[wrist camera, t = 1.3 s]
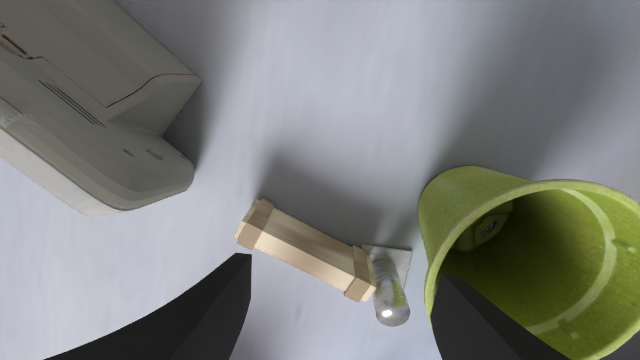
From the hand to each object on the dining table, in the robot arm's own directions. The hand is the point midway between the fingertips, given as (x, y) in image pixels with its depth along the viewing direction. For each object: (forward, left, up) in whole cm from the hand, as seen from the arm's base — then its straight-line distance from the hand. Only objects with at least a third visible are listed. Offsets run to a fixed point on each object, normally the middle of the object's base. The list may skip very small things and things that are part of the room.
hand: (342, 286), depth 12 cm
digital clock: (+15, -6, -10) cm, 19 cm away
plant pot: (-8, 0, -10) cm, 13 cm away
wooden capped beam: (+2, +3, -10) cm, 10 cm away
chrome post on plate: (-4, +5, -10) cm, 12 cm away
